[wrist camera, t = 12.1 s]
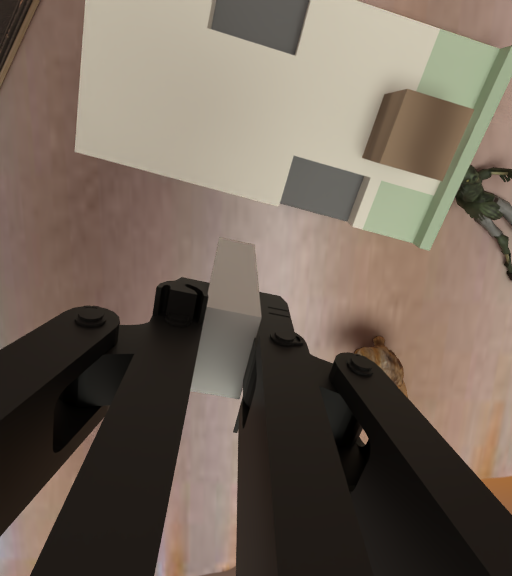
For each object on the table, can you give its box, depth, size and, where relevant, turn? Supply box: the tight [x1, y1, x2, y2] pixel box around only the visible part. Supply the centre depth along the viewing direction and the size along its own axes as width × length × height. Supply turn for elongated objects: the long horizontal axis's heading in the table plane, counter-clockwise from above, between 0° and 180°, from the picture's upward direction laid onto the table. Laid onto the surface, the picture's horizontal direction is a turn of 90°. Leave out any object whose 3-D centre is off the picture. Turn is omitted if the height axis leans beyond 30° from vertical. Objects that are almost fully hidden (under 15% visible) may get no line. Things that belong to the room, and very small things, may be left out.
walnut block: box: [362, 89, 474, 181], centre depth 29 cm, size 5×5×5 cm
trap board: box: [75, 0, 512, 251], centre depth 31 cm, size 32×16×4 cm, turn 75°
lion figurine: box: [354, 336, 408, 398], centre depth 40 cm, size 15×5×9 cm, turn 34°
